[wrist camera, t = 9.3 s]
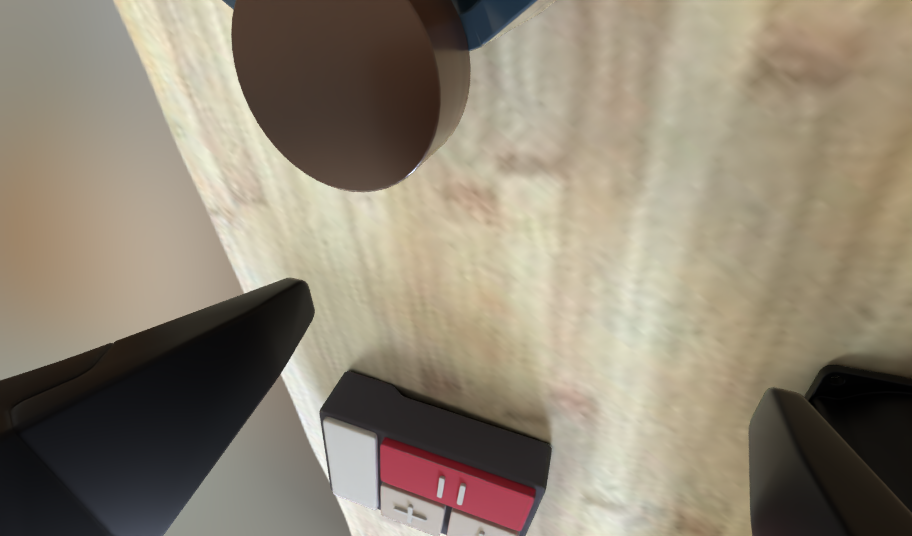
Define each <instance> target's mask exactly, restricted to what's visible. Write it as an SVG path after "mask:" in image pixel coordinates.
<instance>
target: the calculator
mask: <svg viewBox="0 0 912 536" xmlns="http://www.w3.org/2000/svg"><path fill="white" fill-rule="evenodd" d="M320 420H321V426H322V433H323V440H324V446H325V453H326V460H327V466H328V473H329V480H330V487H331V490H332V491H333V493H334V495H336V496H338V497H341V498H343V499H346V500H349V501H351V502H354V503H357V504H359V505H362V506H365V507H367V508H370V509H373V510H377V509H380V510H381V515H382V516H384V517H386V518H388V519H391V520H394V521H396V522H399V523H402V524H404V525H407V526H409V527H412V528H415V529H417V530H420V531H423V532H425V533H428V534H430V535H433V536H440V533H443V534H446V535H447V536H526V533H527V531H528V529H529V527H530V524H531V522H532V520H533V518H534V515H535V513H536V511H537V509H538V506H539V504H540V502H541V500H542V497H543V495H544V493H545V490H546V485H547V479H548V473H549V466H550V459H551V452H552V448H551V446H550V445H548V444H546V443H544V442H541V441H538V440H534V439H531V438H528V437H525V436H522V435H519V434H516V433H513V432H510V431H507V430H504V429H501V428H498V427H495V426H492V425H489V424H486V423H482V422H479V421H476V420H473V419H470V418H467V417H464V416H461V415H458V414H455V413H452V412H449V411H446V410H443V409H440V408H437V407H434V406H430V405H427V404H424V403H421V402H418V401H415V400H412V399H409V398H406V397H403V396H402V395H401V394H400V393H399V392H398V391H397V390H396V388H395V387H394V386H393V385H390V384H387V383H384V382H381V381H378V380H375V379H372V378H369V377H366V376H362V375H359V374H356V373H353V372H350V371H347V372H345V373H344V374H343V376H342V377H341V379H340V380H339V382H338V383H337V385H336V386H335V388H334V389H333V391H332V392H331V394H330V395H329V397H328V398H327V400H326V401H325V403H324V404H323V406H322V408H321V409H320Z"/></svg>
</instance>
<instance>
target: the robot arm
mask: <svg viewBox="0 0 912 536" xmlns="http://www.w3.org/2000/svg"><path fill="white" fill-rule="evenodd" d="M314 313H315V309H314V305H313V301H312V297H311V293H310V290H309V286H308V284H307V283H306V282H305V281H303V280H299V279H295V278H286V279H283V280H280V281H278V282H275V283H272V284H269V285H267V286H264V287H261V288H259V289H256V290H253V291H250V292H248V293H245V294H242V295H240V296H237V297H234V298H231V299H229V300H226V301H223V302H221V303H218V304H215V305H213V306H210V307H207V308H204V309H202V310H199V311H196V312H193V313H191V314H188V315H185V316H183V317H180V318H177V319H175V320H172V321H169V322H166V323H164V324H161V325H158V326H156V327H153V328H150V329H147V330H145V331H142V332H139V333H136V334H134V335H131V336H128V337H126V338H123V339H120V340H117V341H115V342H114V343H109V344H106V345H104V346H101V347H99V348H95V349H93V350H90V351H87V352H84V353H82V354H79V355H76V356H73V357H70V358H67V359H65V360H62V361H59V362H56V363H53V364H50V365H47V366H44V367H41V368H38V369H35V370H32V371H29V372H26V373H22V374H19V375H16V376H13V377H10V378H7V379H4V380H0V536H163V535H164V534H165V532H166V531H167V530H168V528H169V527H170V525H171V524H172V523H173V521H174V520H175V519H176V517H177V516H178V515H179V513H180V512H181V510H182V509H183V508H184V506H185V505H186V504H187V502H188V501H189V499H190V498H191V497H192V495H193V494H194V493H195V491H196V490H197V488H198V487H199V486H200V484H201V483H202V481H203V480H204V479H205V477H206V476H207V475H208V473H209V472H210V471H211V469H212V468H213V466H214V465H215V464H216V462H217V461H218V460H219V458H220V457H221V455H222V454H223V453H224V451H225V450H226V449H227V447H228V446H229V444H230V443H231V442H232V440H233V439H234V438H235V436H236V435H237V434H238V432H239V431H240V429H241V428H242V427H243V425H244V424H245V423H246V421H247V419H248V418H249V417H250V416H251V414H252V413H253V412H254V410H255V409H256V407H257V406H258V405H259V403H260V402H261V401H262V399H263V398H264V396H265V395H266V394H267V392H268V391H269V390H270V388H271V387H272V385H273V384H274V383H275V381H276V379H277V378H278V377H279V375H280V374H281V372H282V371H283V369H284V368H285V366H286V364H287V363H288V361H289V359H290V357H291V356H292V354H293V352H294V351H295V349H296V347H297V346H298V344H299V342H300V340H301V339H302V337H303V335H304V334H305V332H306V330H307V329H308V327H309V325H310V323H311V322H312V320H313V317H314ZM834 376H839V377H837V378H831V377H834ZM749 477H750V515H751V527H752V536H912V379H909V378H904V377H899V376H893V375H888V374H883V373H877V372H872V371H867V370H861V369H856V368H851V367H845V366H840V365H830V366H826V367H824V368H822V369H821V370H820V372H819V373H818V375H817V377H816V378H815V380H814V382H813V383H812V385H811V387H810V388H809V390H808V392H807V393H806V395H805V397H803V396H802V395H801V394H799V393H796V392H793V391H788V390H784V389H780V388H775V387H773V388H769V389H768V390H767V391H766V392H765V393H764V395H763V397H762V399H761V401H760V403H759V405H758V407H757V408H756V410H755V412H754V414H753V416H752V418H751V421H750V425H749Z"/></svg>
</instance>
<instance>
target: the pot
mask: <svg viewBox="0 0 912 536" xmlns="http://www.w3.org/2000/svg"><path fill="white" fill-rule="evenodd" d="M222 1H224V2H225V3H226V4H227V5H229V6H230V7H231V8H232V9H234V6H235V2H236V0H222ZM451 1H452V3H453V5H454V7H455V9H456V11H457V13H458V16H459V18H460V20H461V23H462V26H463V29H464V32H465V35H466V40H467V45H468V50H469V51H472V50H475V49H477V48H480V47H482V46H484V45H486V44H487V43H489V42H491V41H493V40H494V39H496V38H498V37H500V36H501V35H503V34H505V33H507V32H508V31H510V30H512V29H514V28H515V27H517V26H519V25H521V24H522V23H524V22H526V21H528V20H529V19H531V18H533V17H535V16H536V15H538V14H540V13H541V12H542V11H543V10H545V9H546V8H547V7H548V6H550V5H551V4H552V3H553V2H554V1H556V0H451Z"/></svg>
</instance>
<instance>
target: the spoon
mask: <svg viewBox="0 0 912 536" xmlns="http://www.w3.org/2000/svg"><path fill="white" fill-rule="evenodd" d="M231 35H232V51H233V57H234V63H235V68H236V72H237V76H238V80H239V83H240V86H241V89H242V91H243V94H244V97H245V99H246V101H247V103H248V106H249V108H250V110H251V112H252V114H253V115H254V117H255V119H256V121H257V123H258V124H259V126H260V127H261V129H262V130H263V132H264V133H265V134H266V136H267V137H268V138H269V140H270V141H271V142H272V143H273V145H274V146H275V147H276V148H277V149H278V150H279V151H280V152H281V153H282V154H283V155H284V157H286V158H287V159H288V160H289V161H290V162H291V163H292V164H294V165H295V166H296V167H297V168H299V169H300V170H301V171H303V172H304V173H306V174H307V175H309V176H311V177H312V178H314V179H316V180H317V181H320V182H322V183H324V184H326V185H328V186H331V187H335V188H338V189H341V190H346V191H352V192H371V191H378V190H382V189H386V188H389V187H391V186H393V185H396V184H398V183H399V182H401V181H402V180H404V179H406V178H407V177H408V176H409V175H410V174H411V173H413V172H414V171H415V170H416V169H417V168H418V167H419V166H420V165H421V164H422V163H424V162H425V161H426V160H427V159H428V158H429V157H430V156H431V155H432V154H433V153H434V152H435V151H437V150H438V149H439V148H440V147H441V146H442V145H443V144H444V143H445V142H446V141H447V140H448V138H449V137H450V136H451V135H452V134H453V132H454V130H455V129H456V127H457V125H458V124H459V122H460V119H461V117H462V115H463V112H464V110H465V106H466V103H467V99H468V93H469V87H470V57H469V50H468V45H467V40H466V35H465V32H464V29H463V26H462V23H461V20H460V18H459V16H458V13H457V11H456V9H455V7H454V5H453V3H452V1H451V0H236V2H235V6H234V12H233V17H232V34H231Z"/></svg>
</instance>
